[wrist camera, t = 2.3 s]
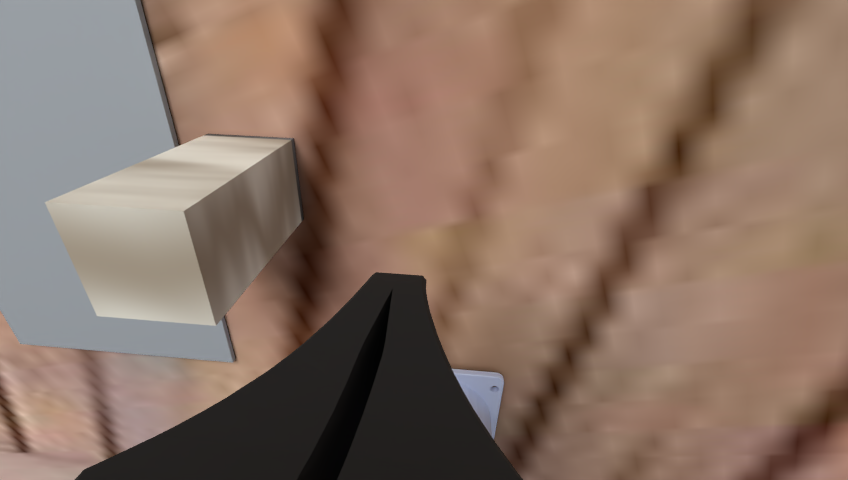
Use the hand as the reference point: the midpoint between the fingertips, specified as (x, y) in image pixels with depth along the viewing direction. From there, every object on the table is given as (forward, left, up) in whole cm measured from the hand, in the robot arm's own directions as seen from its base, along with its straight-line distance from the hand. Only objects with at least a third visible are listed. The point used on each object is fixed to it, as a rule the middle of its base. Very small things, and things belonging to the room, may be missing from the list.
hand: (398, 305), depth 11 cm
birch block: (0, +8, -9) cm, 12 cm away
